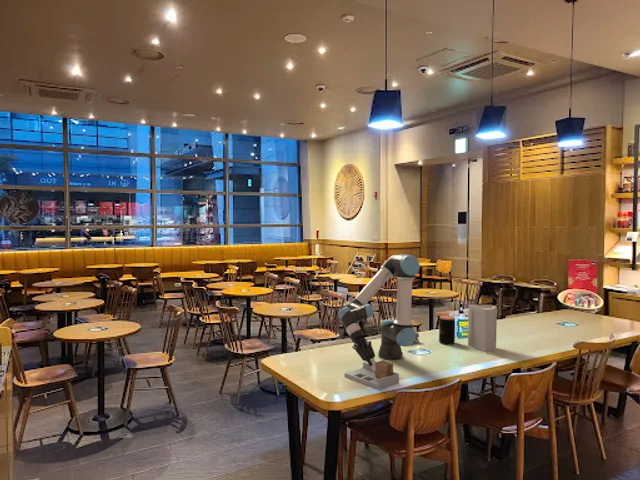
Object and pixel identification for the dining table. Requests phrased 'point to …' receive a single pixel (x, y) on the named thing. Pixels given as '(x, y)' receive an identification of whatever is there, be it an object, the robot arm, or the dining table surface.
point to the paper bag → (482, 327)
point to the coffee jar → (447, 329)
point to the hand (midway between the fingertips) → (376, 370)
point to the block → (383, 369)
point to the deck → (372, 377)
